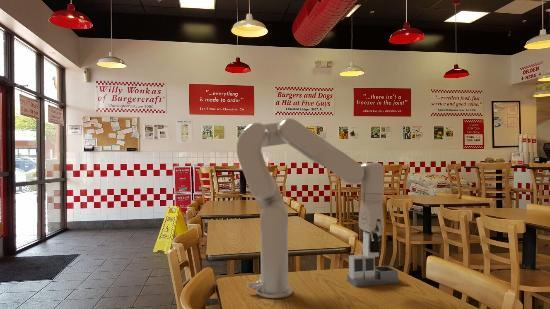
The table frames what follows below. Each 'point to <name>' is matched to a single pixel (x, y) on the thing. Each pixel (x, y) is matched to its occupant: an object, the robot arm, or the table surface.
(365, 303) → the table surface
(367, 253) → the pale grey block
